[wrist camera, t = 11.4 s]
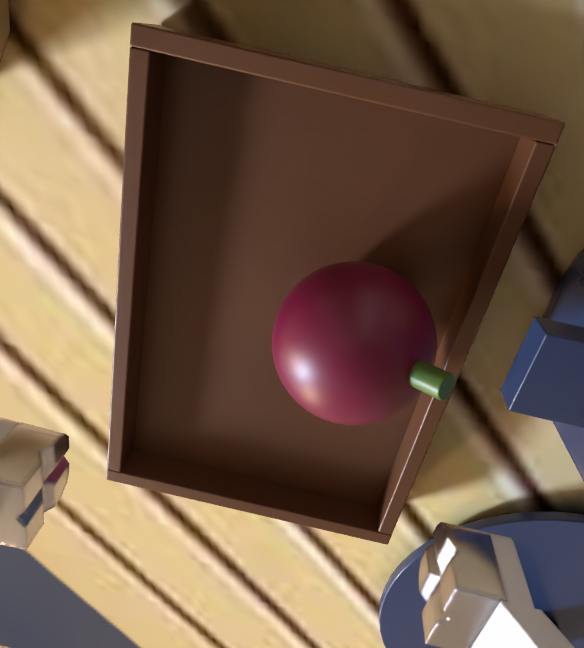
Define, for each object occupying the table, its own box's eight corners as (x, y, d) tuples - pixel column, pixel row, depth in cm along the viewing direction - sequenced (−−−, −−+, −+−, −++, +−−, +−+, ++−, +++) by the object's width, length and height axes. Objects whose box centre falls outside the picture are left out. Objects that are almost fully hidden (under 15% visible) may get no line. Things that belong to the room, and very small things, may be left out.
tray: (155, 24, 17) (130, 21, 15) (543, 114, 17) (566, 123, 15) (124, 447, 25) (106, 479, 23) (385, 507, 25) (387, 545, 23)
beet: (250, 244, 17) (410, 302, 12) (362, 246, 20) (519, 292, 16) (230, 396, 18) (367, 496, 14) (338, 374, 22) (474, 449, 17)
